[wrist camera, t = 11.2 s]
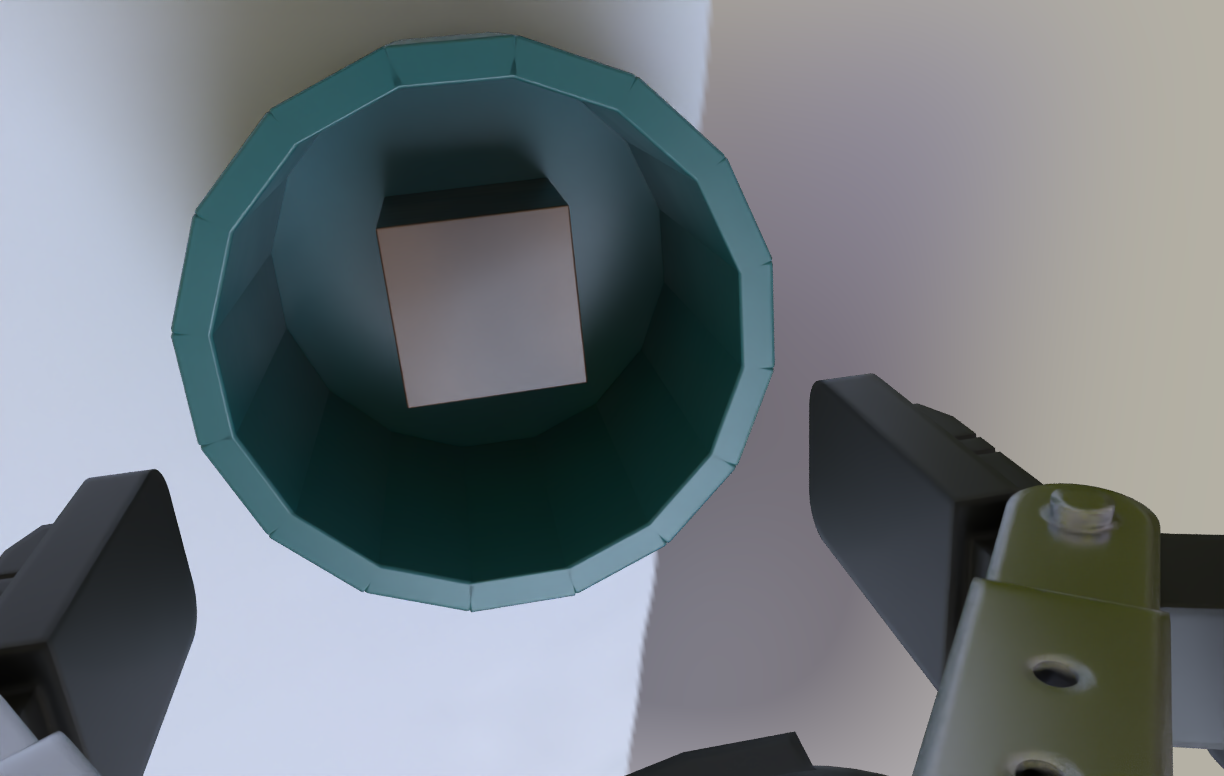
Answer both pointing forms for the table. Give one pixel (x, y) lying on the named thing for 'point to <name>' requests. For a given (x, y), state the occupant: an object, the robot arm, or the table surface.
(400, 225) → the block
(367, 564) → the tin
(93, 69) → the table surface
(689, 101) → the table surface
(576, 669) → the table surface
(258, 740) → the table surface
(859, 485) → the robot arm
